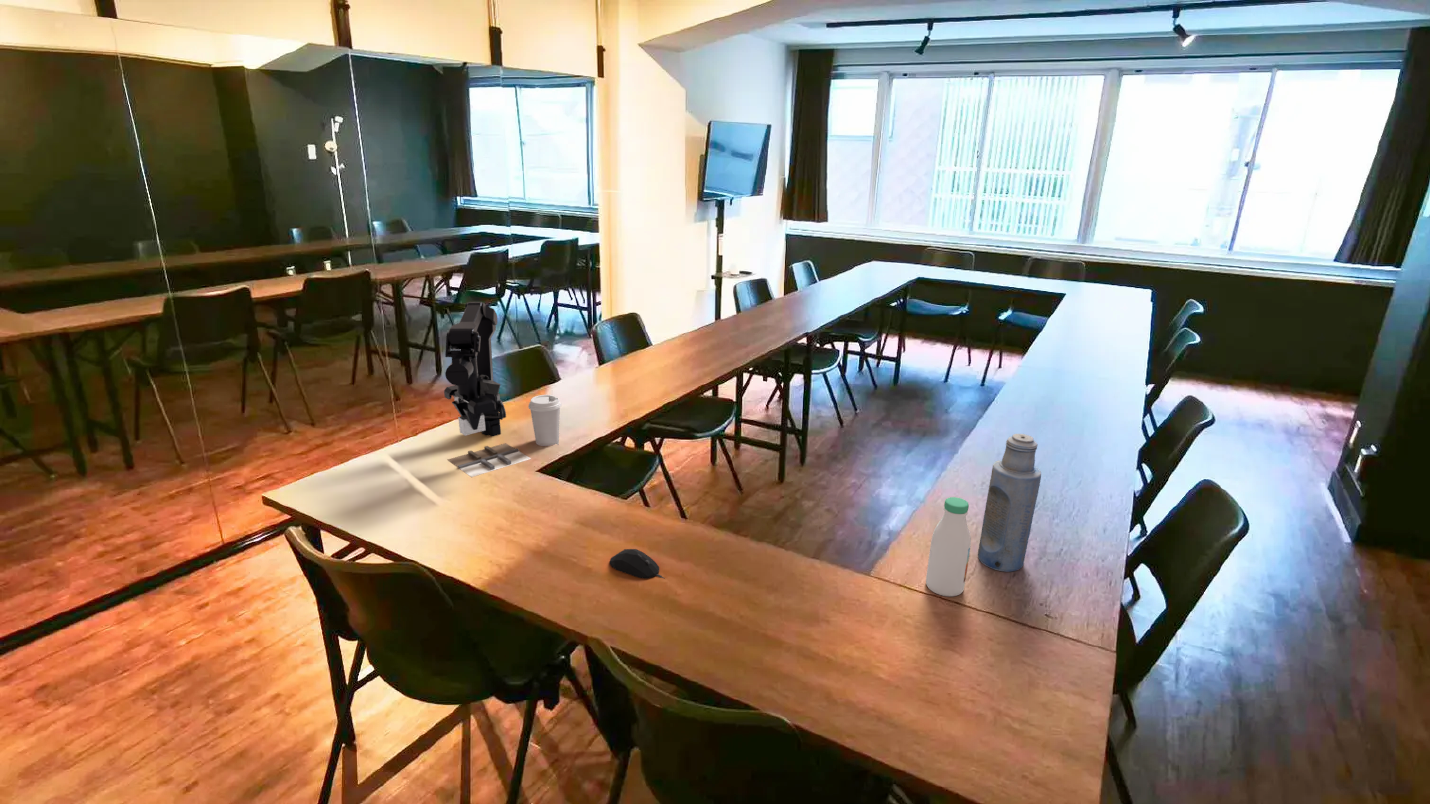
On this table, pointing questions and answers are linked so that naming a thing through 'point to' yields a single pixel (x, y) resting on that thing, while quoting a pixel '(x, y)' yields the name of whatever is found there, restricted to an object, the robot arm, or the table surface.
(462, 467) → the ribbed grey tray
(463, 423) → the white rectangular block
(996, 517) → the bottle
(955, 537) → the milk bottle
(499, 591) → the table surface
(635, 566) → the gaming mouse
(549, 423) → the coffee cup
